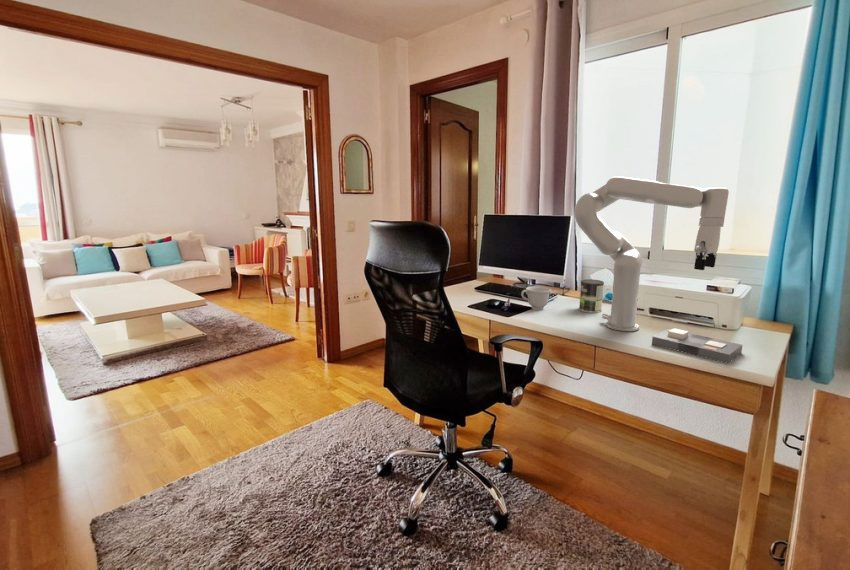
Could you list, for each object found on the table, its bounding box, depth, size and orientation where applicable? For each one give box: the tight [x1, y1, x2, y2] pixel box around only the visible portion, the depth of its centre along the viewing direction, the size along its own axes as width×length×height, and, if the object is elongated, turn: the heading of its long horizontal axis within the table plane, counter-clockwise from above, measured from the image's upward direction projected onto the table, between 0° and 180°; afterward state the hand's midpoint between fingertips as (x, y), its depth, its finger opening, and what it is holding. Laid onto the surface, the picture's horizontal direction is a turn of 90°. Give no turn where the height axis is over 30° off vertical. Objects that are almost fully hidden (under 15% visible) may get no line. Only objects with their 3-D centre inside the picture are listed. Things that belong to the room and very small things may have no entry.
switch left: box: [668, 327, 689, 340], centre depth 155 cm, size 5×5×3 cm
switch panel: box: [651, 328, 743, 364], centre depth 150 cm, size 24×14×3 cm, turn 39°
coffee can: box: [578, 278, 605, 314], centre depth 201 cm, size 10×10×14 cm
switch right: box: [705, 341, 727, 349], centre depth 146 cm, size 5×5×3 cm
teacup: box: [520, 285, 552, 311], centre depth 205 cm, size 12×15×10 cm
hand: (704, 268), depth 157 cm, fingers open, 9 cm apart
